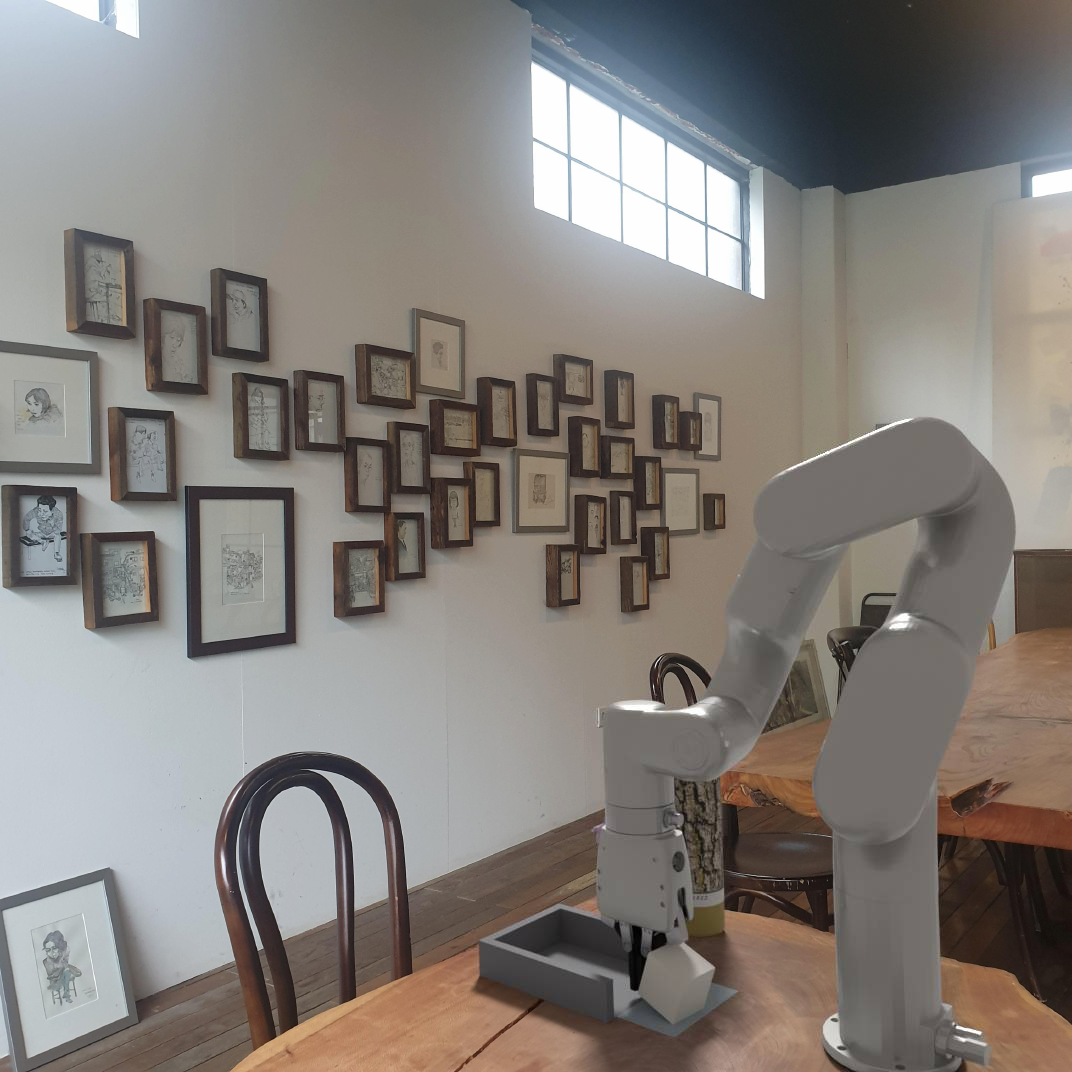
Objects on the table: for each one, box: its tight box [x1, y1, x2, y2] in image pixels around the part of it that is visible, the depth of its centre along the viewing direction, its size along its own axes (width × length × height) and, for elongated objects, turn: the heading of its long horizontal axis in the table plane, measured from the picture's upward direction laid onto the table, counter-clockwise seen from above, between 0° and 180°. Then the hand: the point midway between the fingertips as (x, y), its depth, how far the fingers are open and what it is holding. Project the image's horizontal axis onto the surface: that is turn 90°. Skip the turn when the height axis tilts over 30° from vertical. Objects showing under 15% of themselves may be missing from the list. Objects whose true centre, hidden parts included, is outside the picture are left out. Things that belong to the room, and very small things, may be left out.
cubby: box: [478, 903, 740, 1039], centre depth 108 cm, size 25×14×4 cm, turn 49°
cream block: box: [638, 942, 716, 1025], centre depth 101 cm, size 5×5×5 cm
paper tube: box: [674, 776, 726, 938], centre depth 123 cm, size 7×7×25 cm
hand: (644, 987), depth 104 cm, fingers closed
